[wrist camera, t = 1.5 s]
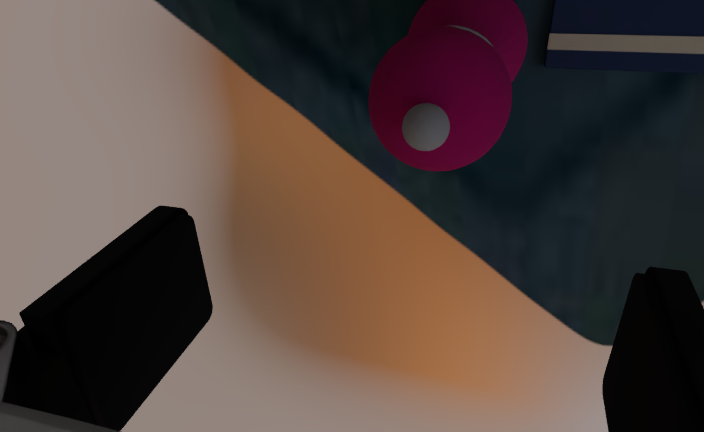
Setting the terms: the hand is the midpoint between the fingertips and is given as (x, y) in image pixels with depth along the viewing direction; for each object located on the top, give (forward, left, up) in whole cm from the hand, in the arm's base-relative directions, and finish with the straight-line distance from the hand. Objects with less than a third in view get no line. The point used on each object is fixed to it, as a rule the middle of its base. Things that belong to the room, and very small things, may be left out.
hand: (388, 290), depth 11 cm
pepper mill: (-1, 0, -29) cm, 29 cm away
